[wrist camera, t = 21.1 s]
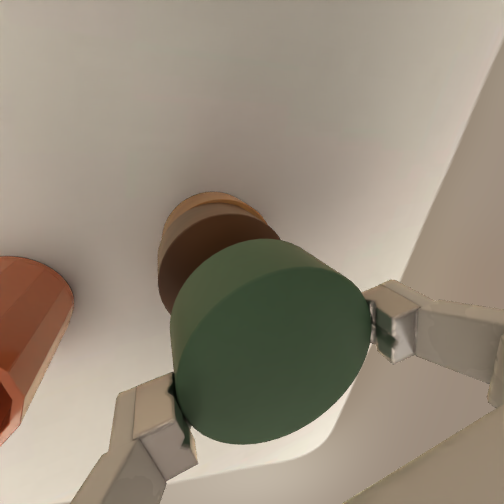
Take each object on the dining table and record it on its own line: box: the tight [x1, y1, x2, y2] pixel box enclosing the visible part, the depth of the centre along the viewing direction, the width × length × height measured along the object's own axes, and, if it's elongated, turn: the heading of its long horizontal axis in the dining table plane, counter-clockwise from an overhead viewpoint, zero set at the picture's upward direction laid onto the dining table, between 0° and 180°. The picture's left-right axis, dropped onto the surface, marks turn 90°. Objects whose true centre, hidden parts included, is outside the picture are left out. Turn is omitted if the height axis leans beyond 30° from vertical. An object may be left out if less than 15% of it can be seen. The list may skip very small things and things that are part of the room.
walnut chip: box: [158, 202, 281, 315], centre depth 14 cm, size 6×6×3 cm
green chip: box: [170, 239, 372, 445], centre depth 9 cm, size 6×6×3 cm
